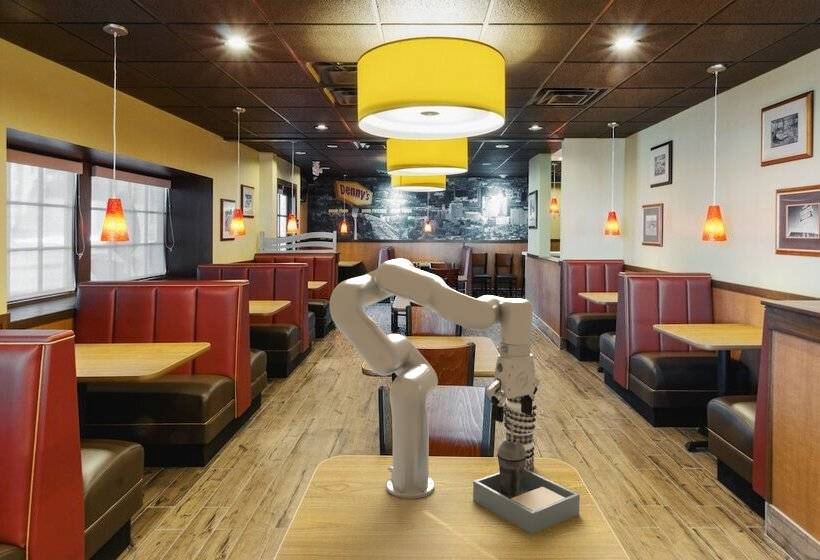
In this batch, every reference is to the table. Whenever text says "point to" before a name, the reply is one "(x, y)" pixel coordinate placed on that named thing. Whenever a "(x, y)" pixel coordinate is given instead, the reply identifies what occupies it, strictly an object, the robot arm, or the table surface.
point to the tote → (529, 521)
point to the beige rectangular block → (537, 498)
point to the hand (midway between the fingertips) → (512, 417)
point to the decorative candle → (520, 427)
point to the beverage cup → (511, 466)
